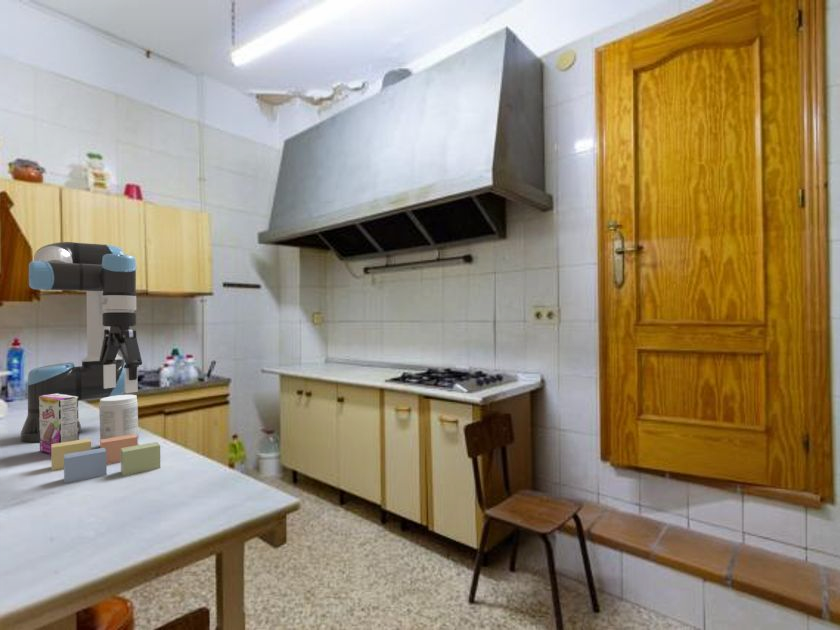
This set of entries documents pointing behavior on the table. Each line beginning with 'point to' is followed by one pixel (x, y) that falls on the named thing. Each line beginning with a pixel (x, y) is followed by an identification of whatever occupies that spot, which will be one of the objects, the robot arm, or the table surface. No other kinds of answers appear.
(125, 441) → the terracotta brick
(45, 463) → the table surface
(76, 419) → the candy bar box
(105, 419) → the supplement tub
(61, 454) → the ochre brick
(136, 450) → the olive brick
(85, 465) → the slate-blue brick
